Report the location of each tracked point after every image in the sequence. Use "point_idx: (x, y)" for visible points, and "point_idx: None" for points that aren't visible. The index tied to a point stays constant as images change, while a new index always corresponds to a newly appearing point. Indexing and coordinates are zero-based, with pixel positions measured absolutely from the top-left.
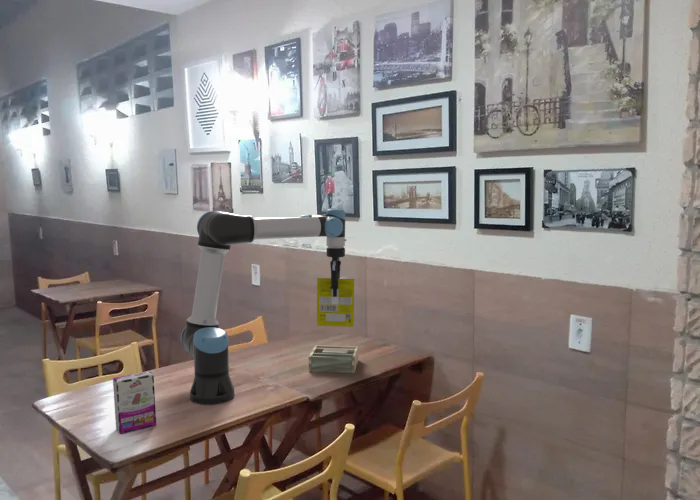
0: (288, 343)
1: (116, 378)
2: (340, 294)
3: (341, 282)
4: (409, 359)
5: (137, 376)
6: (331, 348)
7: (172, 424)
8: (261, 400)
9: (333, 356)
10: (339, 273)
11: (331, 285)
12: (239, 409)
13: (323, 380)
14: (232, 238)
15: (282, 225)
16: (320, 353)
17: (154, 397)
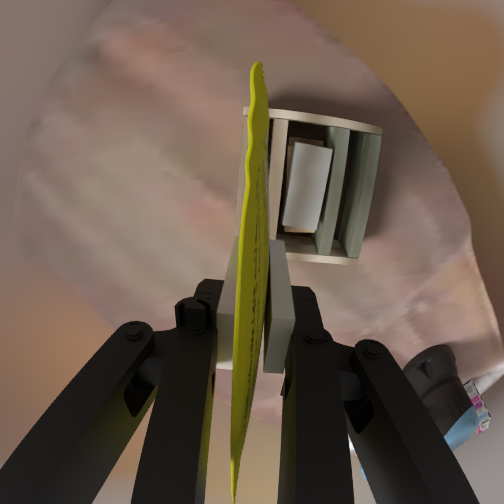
0: (120, 307)
1: (480, 432)
2: (267, 260)
3: (250, 344)
4: None
5: (487, 424)
6: (272, 200)
7: (476, 368)
8: (463, 307)
9: (362, 193)
10: (71, 450)
11: (371, 407)
12: (476, 325)
13: (409, 209)
14: None
15: None
16: (328, 234)
17: (482, 400)
